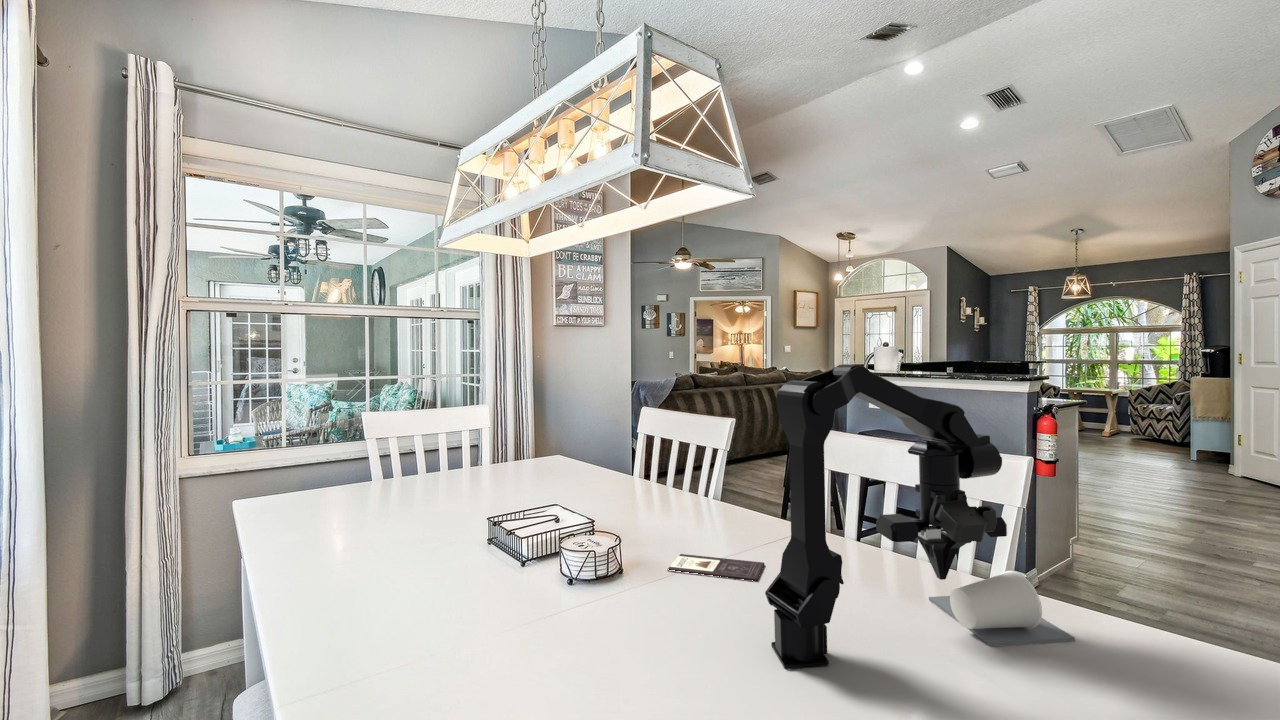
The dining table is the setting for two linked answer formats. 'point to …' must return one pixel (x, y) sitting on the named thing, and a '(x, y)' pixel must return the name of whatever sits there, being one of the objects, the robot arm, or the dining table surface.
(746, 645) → the dining table surface
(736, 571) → the chocolate bar
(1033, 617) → the dixie cup
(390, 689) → the dining table surface
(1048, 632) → the mat
